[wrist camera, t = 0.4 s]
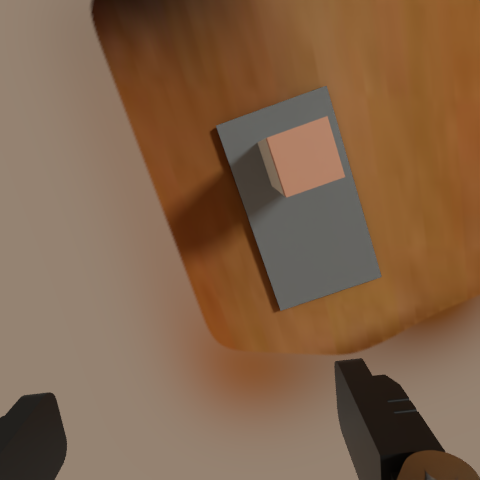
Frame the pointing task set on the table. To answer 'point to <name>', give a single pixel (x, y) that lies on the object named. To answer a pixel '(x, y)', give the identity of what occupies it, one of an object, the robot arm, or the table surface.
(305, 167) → the cream block
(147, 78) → the table surface
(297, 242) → the slate mat
